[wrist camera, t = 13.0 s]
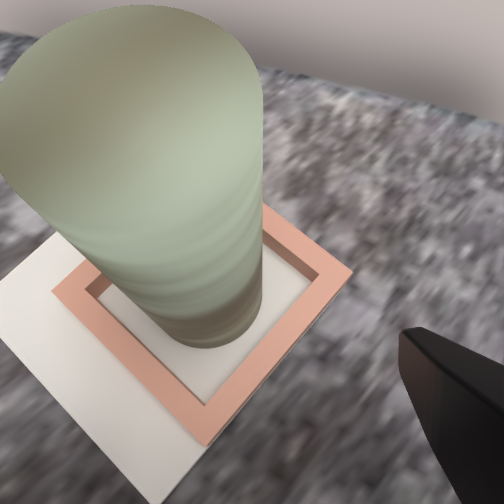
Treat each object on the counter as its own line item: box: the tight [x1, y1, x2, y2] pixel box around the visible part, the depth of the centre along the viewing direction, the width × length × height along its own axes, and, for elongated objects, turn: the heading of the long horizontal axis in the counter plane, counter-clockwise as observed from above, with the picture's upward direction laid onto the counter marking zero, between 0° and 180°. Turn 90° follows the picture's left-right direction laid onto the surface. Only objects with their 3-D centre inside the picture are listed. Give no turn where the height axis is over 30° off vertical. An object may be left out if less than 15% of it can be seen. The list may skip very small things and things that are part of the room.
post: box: [0, 5, 263, 349], centre depth 14 cm, size 5×5×12 cm
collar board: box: [0, 203, 353, 504], centre depth 19 cm, size 12×12×2 cm
